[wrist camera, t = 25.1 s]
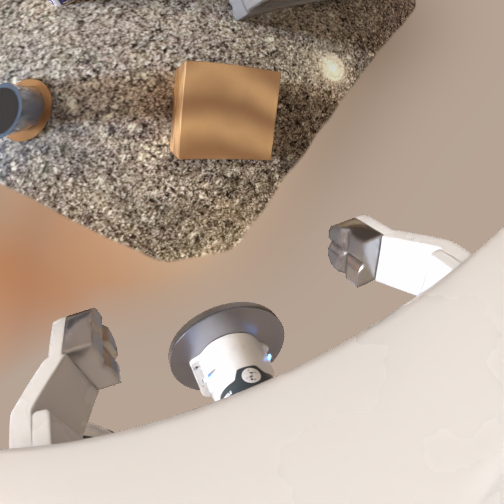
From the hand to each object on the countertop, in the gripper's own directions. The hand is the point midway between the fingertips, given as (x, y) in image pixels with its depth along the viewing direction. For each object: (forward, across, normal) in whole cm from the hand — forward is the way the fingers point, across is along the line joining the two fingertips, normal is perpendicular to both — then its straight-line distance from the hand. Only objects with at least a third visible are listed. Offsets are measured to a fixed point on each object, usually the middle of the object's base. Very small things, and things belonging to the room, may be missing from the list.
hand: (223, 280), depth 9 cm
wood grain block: (+34, -11, -2) cm, 36 cm away
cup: (+35, +16, -11) cm, 40 cm away
